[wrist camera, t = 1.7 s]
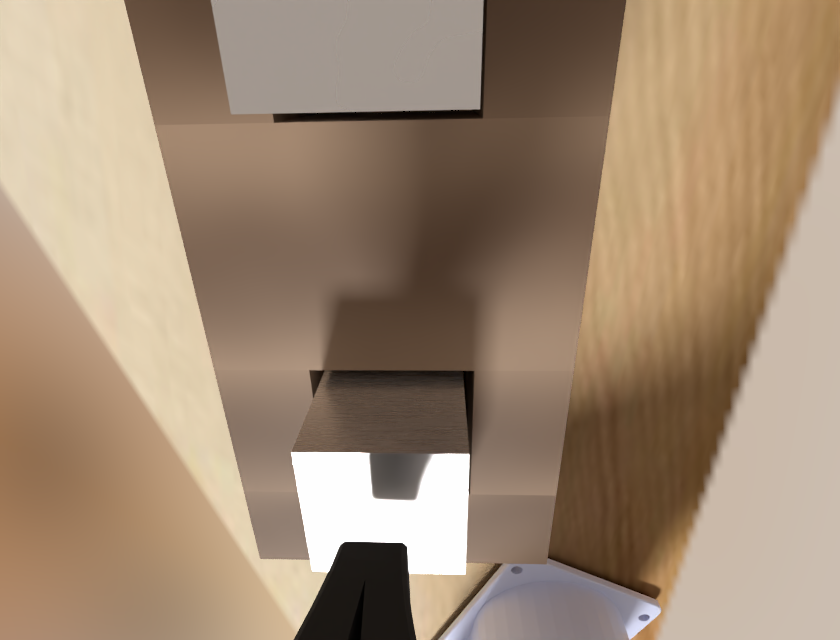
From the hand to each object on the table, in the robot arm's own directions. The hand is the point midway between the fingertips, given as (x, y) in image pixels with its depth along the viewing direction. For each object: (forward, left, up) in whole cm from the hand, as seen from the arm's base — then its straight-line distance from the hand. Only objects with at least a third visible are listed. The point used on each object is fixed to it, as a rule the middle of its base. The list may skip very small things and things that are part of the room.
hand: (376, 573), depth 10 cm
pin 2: (0, 0, -6) cm, 6 cm away
